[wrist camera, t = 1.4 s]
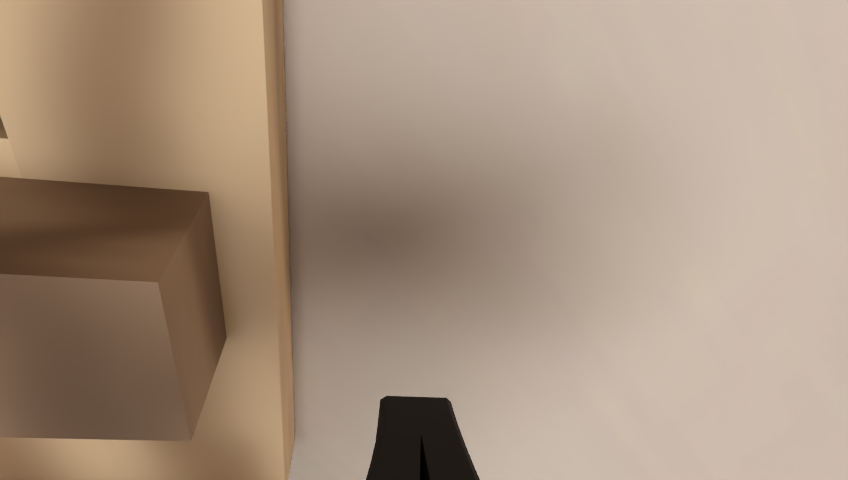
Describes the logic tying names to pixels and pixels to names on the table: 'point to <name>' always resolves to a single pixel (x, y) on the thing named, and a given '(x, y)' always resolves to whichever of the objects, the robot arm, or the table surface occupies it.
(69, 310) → the walnut block
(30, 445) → the wooden compartment tray
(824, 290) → the table surface
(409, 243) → the table surface
